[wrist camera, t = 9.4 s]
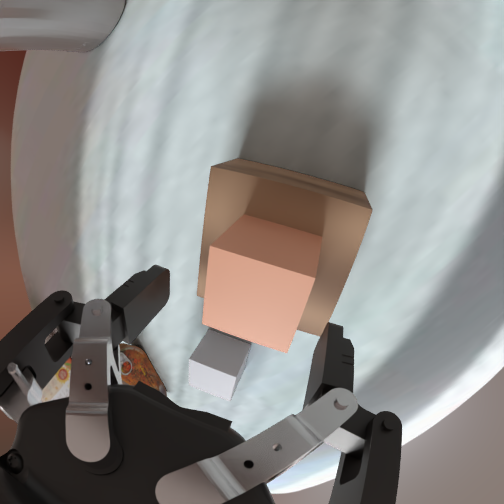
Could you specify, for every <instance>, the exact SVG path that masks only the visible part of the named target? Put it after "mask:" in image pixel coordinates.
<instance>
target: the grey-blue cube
mask: <svg viewBox="0 0 504 504" xmlns="http://www.w3.org/2000/svg"><path fill="white" fill-rule="evenodd" d="M250 347H251V344H249V343H246V342H243V341H240V340H237V339H235V338H232V337H229V336H226V335H224V334H221V333H218V332H216V331H213V330H210V329H208V331H207V332H206V334H205V336H204V337H203V339H202V340H201V342H200V343H199V345H198V346H197V348H196V349H195V351H194V352H193V354H192V355H191V357H190V358H189V385H190V386H193V387H195V388H197V389H200V390H202V391H204V392H207V393H209V394H212V395H214V396H217V397H220V398H222V399H225V400H228V401H231V399H232V396H233V394H234V392H235V390H236V388H237V385H238V383H239V381H240V379H241V376H242V374H243V372H244V369H245V365H246V362H247V358H248V354H249V351H250Z"/></svg>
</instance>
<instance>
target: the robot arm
mask: <svg viewBox="0 0 504 504" xmlns="http://www.w3.org/2000/svg"><path fill="white" fill-rule="evenodd" d="M124 5H125V0H0V51H10V50H57V51H67V52H88V51H90V50H93V49H94V48H96V47H97V46H98V45H100V44H101V43H102V42H103V41H104V40H105V39H106V38H107V37H108V35H109V34H110V33H111V31H112V30H113V29H114V27H115V26H116V24H117V22H118V21H119V19H120V16H121V14H122V12H123V9H124ZM169 295H170V271H169V270H168V269H166V268H163V267H161V266H158V265H154V266H152V267H151V268H150V269H149V270H147V271H141V272H139V273H136V274H134V275H133V276H132V277H131V278H130V279H128V281H126V282H125V283H124V284H123V285H121V286H120V287H119V288H118V289H116V290H115V291H114V292H113V293H112V294H111V295H109V296H108V297H107V298H106V299H105V300H103V299H94V300H91V301H89V302H87V303H86V304H82V303H78V302H73V299H72V295H71V294H70V293H69V292H67V291H57V292H54V293H53V294H51V295H50V296H49V297H48V298H46V299H45V300H44V301H43V302H42V303H41V304H39V305H38V306H37V307H36V308H35V309H34V310H33V311H31V312H30V313H29V314H28V315H27V316H26V317H25V318H24V319H23V320H22V321H20V323H18V324H17V325H16V326H15V327H14V328H13V329H12V330H11V331H10V332H9V333H8V334H7V335H6V336H5V337H4V338H3V339H2V340H1V341H0V409H1V410H2V411H3V412H4V413H5V414H6V415H7V416H8V417H9V418H11V419H13V420H14V421H15V422H16V423H17V424H18V426H17V432H16V436H15V440H14V442H13V445H12V447H11V449H10V450H9V451H8V452H7V453H6V454H4V455H2V456H1V457H0V504H275V502H274V500H273V498H272V495H271V493H270V491H269V489H268V487H267V485H266V484H267V483H269V482H270V481H272V480H274V479H275V478H277V477H278V476H280V475H281V474H283V473H284V472H286V471H287V470H288V469H290V468H291V467H293V466H294V465H295V464H297V463H298V462H299V461H301V460H302V459H303V458H305V457H306V456H308V455H309V454H310V453H311V452H313V451H314V450H315V449H317V448H318V447H319V446H320V445H322V444H323V443H326V444H328V445H330V446H332V447H334V448H336V449H338V450H340V451H342V452H341V457H340V462H339V466H338V470H337V474H336V479H335V483H334V486H333V490H332V494H331V498H330V501H329V504H395V502H396V496H397V488H398V480H399V470H400V459H401V443H402V424H401V421H400V419H399V418H398V417H397V416H396V415H395V414H394V413H392V412H389V411H383V412H380V413H378V414H377V415H375V414H373V413H371V412H369V411H367V410H365V409H363V408H362V407H361V406H360V405H359V404H358V401H357V398H356V396H355V395H354V394H353V380H354V366H353V365H354V347H353V345H352V343H351V341H350V339H346V338H343V326H340V325H336V324H333V323H329V322H328V323H327V324H326V326H325V328H324V330H323V333H322V335H321V337H320V339H319V341H318V343H317V345H316V348H315V350H314V354H313V359H312V364H311V370H310V375H309V381H308V386H307V391H306V396H305V401H304V405H303V410H302V411H301V412H300V413H298V414H297V415H294V414H292V415H290V416H288V417H286V418H284V419H283V420H281V421H280V422H278V423H276V424H275V425H273V426H271V427H270V428H268V429H266V430H265V431H263V432H261V433H260V434H258V435H256V436H254V437H252V438H251V439H249V440H247V441H245V439H244V438H243V437H242V436H241V435H240V434H239V433H237V432H236V431H235V430H233V429H232V428H230V426H231V423H232V421H229V420H227V419H224V418H221V417H218V416H216V415H213V414H210V413H208V412H203V411H197V410H192V409H186V408H182V407H179V406H178V405H176V404H175V403H174V402H173V401H171V400H170V399H169V398H168V397H166V396H165V395H164V394H163V393H161V392H160V391H158V390H156V389H154V388H152V387H150V386H148V385H147V384H145V383H143V382H141V381H138V382H137V384H136V385H135V386H134V385H128V384H122V379H121V367H120V346H119V344H120V343H121V342H122V341H124V342H126V343H128V344H131V343H132V342H133V341H134V339H135V338H136V337H137V336H138V335H139V334H140V333H141V332H142V330H143V329H144V328H145V327H146V326H147V325H148V324H149V323H150V321H151V320H152V319H153V318H154V317H155V316H156V315H157V314H158V312H159V311H160V310H161V309H162V308H163V307H164V306H165V305H166V303H167V301H168V299H169ZM55 328H57V330H58V332H57V333H56V334H55V335H54V336H53V337H52V338H51V339H50V340H49V341H48V342H47V343H46V344H45V339H46V337H47V336H48V335H49V334H50V333H51V332H52V331H53V330H54V329H55ZM71 356H72V361H71V373H70V389H69V397H65V398H60V399H56V400H52V401H47V402H42V400H41V398H42V390H43V389H44V388H45V386H46V385H47V384H48V383H49V381H50V380H51V379H52V378H53V377H54V375H55V374H56V373H57V372H58V371H59V369H60V368H61V367H62V366H63V365H64V364H65V362H66V361H67V360H68V359H69V358H70V357H71Z"/></svg>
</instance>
